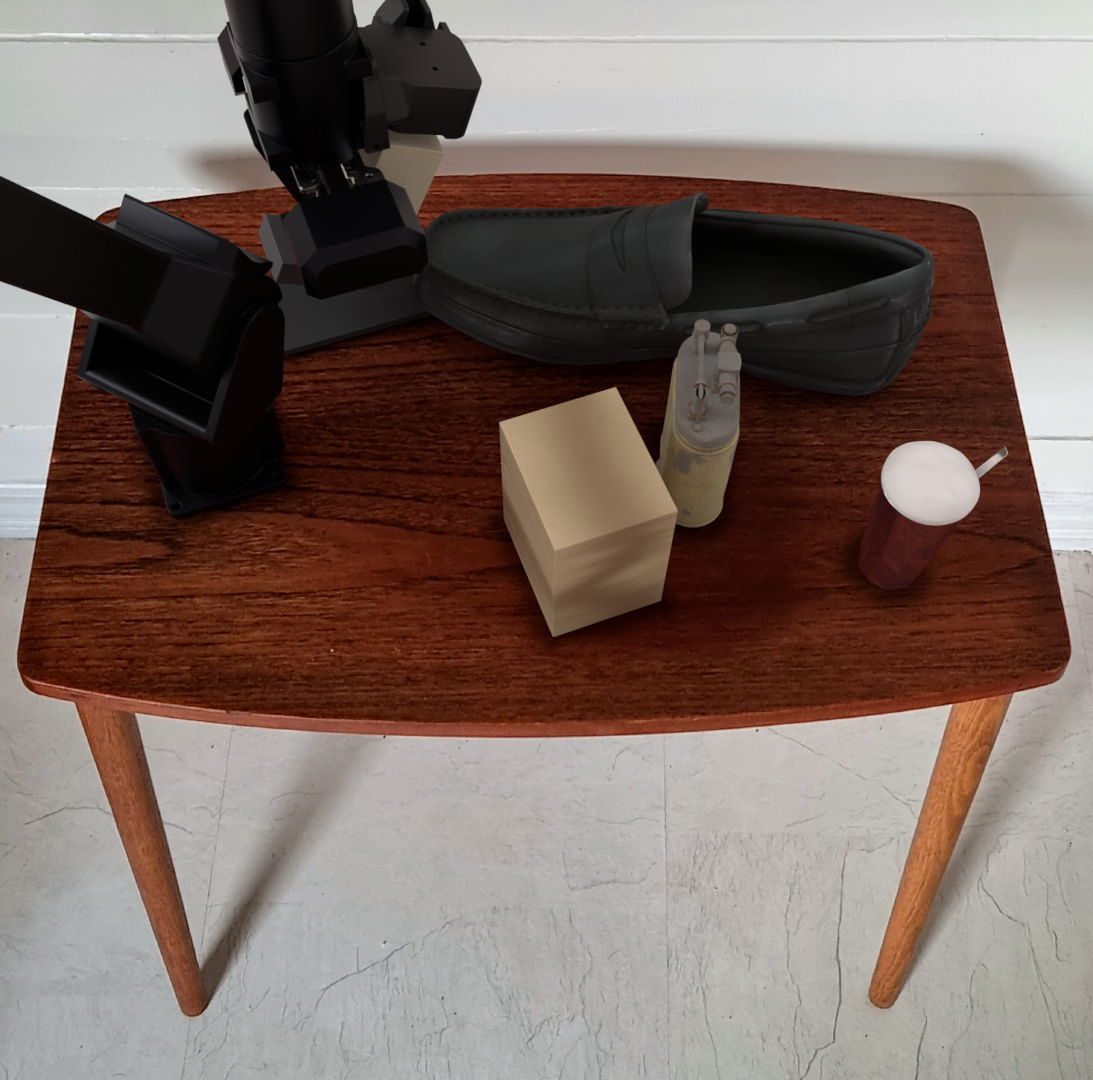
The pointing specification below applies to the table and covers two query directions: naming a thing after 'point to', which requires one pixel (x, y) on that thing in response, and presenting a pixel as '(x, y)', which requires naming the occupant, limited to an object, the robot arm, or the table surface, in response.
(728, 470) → the lighter
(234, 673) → the table surface
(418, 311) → the shoe mat
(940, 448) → the milkshake
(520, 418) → the stand
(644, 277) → the loafer
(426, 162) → the white block
